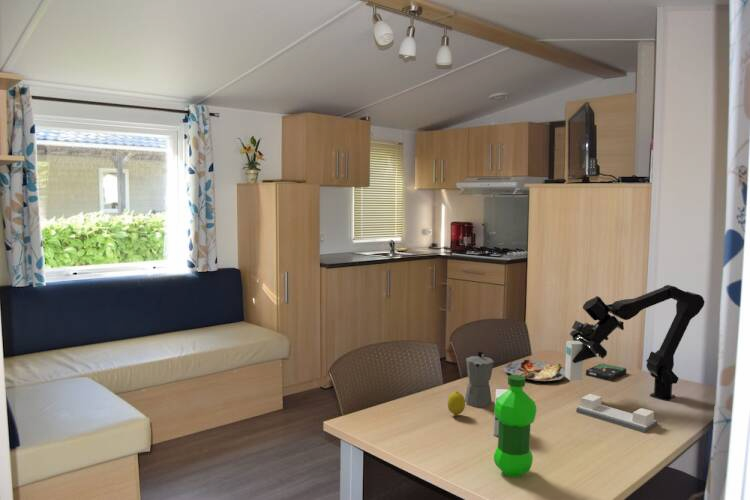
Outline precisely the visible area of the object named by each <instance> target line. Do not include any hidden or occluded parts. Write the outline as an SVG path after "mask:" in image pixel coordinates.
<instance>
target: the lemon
mask: <svg viewBox="0 0 750 500" xmlns="http://www.w3.org/2000/svg"><path fill="white" fill-rule="evenodd" d="M465 407H466V402H465V396H464V395H463V394H462V393H460V392H459V391H457V390H456V391H455V392H452V393H451V394H449V397H448V399H447V408H448V411H449V412H450V413H451V414H453V415H454V416H456V417H457V416H458V415H461V414H462V413H463V412H464V410H465Z"/></svg>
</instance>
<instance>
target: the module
mask: <svg viewBox="0 0 750 500" xmlns="http://www.w3.org/2000/svg"><path fill="white" fill-rule="evenodd" d="M582 344H583V343H581V342H580V341H573V340H566V344H565V345H566V346H565V362H564V363H565V367H564V369H565V377H564V378H566V379H567V380H569V381H583V371H584V369H583V368H584V360H583V361H580V362H577V363H574V362H573V359H574V358H575V357H576V355H577V354H578V353H579V352H580V351H581V350H582Z"/></svg>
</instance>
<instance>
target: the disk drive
mask: <svg viewBox="0 0 750 500" xmlns="http://www.w3.org/2000/svg"><path fill="white" fill-rule="evenodd" d="M625 375H627V368H626V367H622V366H621V367H620V366H618V365H616V366H615V365H611V364H606V363H600V364H598V365H597V364H596V366H592V367H590V368H588V369H586V370H585V376H586V377H587V376H588V377H592V378H594V379H600V380H604V381H606V382H607V381H608V382H613V381H614V380H616V379H619V378H620V377H622V376H625Z"/></svg>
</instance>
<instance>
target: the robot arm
mask: <svg viewBox="0 0 750 500" xmlns="http://www.w3.org/2000/svg"><path fill="white" fill-rule="evenodd" d="M670 299H672V300H675V301H676V303H675V310H676V311H675V312H676V313H675V316H674V318H673V320H672V322H671V324H670V327H669V329H668V331H667V333H666V334H665V337H664V338H663V341H662V343H661V344H660V348H659V349H658V350H657V351H656V352H653V351H651V352H650V353H649V356H648V358H647V359H646V369H647V370H648V372H649V373H650V376H651V377H653V378H654V385H653V387H654V388H653V392H652V393H650V394H649V396H650V397H653V398H658V399H661V400H665V401H670V400H672V399H674V398H675V397H676V395H675V394H672V393H673V384H675V385H676V384H677V383H678V381H679V377H678V376H677V375H676V373H675V372H674V371H673V369H674V365H675V363H674V362H675V361H674V360H675V359H674V356H675V354H676V351H677V349H678V347H679V346H680V345H679V344H680V343H681V341H682V338H683V337H684V335H685V333H686V330H687V328H688V327H689V324H690V322H691V320H692V319H693V318H695V317H696V316H697V315H698V314H699V313H700V312H701V311H702V309H703V307H704V306H705V299H704V297H703V296H702V295H700V294H697V293H694V292H691V291H685V290H682V289H680V288H678V287H677V286H674V285H670V284H666V285H664V286H663V287H659V288H657V289H655V290H653V291H650V292H647V293H645V294H642V295H639V296H637V297H634V298H628V299H627V298H625V299H620V300H616V301H614V302H613V303H611V304H606V303H605V302H604V301H603V299H602V298H601V297H600V296H598V295H596V296H595V297H592V298H591V299H589V300H587V301H585V303H584V304H583V306H582V309H583V311H585V312H586V313H587V314H588V316H589V317H590V318H591V319H592V320H593V321H597V323H595V324H592V323H591V324H590V323H588V322H585V323H582V322H580V321H578V320H574V322H573V325H572V327H571V329H572V331H571V332H570V333H569V335H570V336H571V337H572V341H580V342H581V343H583V344H582V350H581V351H580V352H579V353H578V354H577V355H576V357H575V358H574V359H573V362H574V363H577V362H580V361H583V362H584V361H586V360H589V359H593V358H597V357H599V358H600V359H602V360H604V358H605V357H607V355H608V351H607V349H606V348H605V347H604V346H603V345H602V344H601V343H602V342H604V341H608V340H609V336H610V335H611V333H613V332H614V331H615V330H616V329H618V330H621V331H624V330H625V328H624V321H628V320H631V319H632V318H635V317H636V316H637V315H638V314H639V313H640V312H641V311H643V310H644V309H647V308H649V307H652V306H655V305H657V304H659V303H662V302H665V301H667V300H670ZM611 314H612V315H611ZM618 319H621V320H618ZM622 320H624V321H622Z"/></svg>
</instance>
